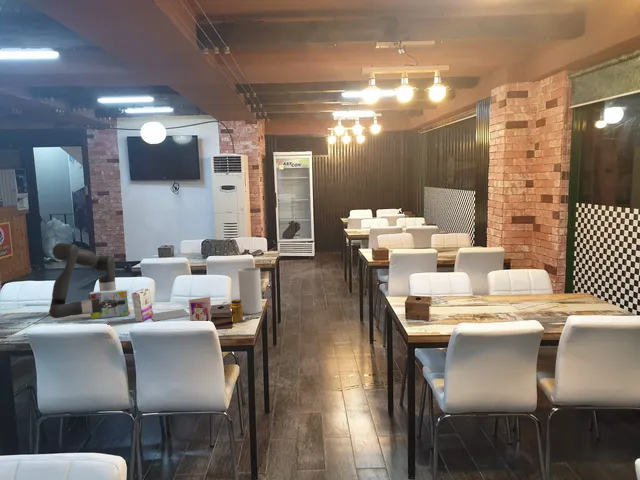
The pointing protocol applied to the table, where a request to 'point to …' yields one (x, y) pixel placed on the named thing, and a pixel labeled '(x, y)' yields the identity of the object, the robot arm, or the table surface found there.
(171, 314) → the mat
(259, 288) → the cylinder vase
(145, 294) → the candy bar box
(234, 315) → the condiment
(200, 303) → the greeting card
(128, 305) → the snack box
